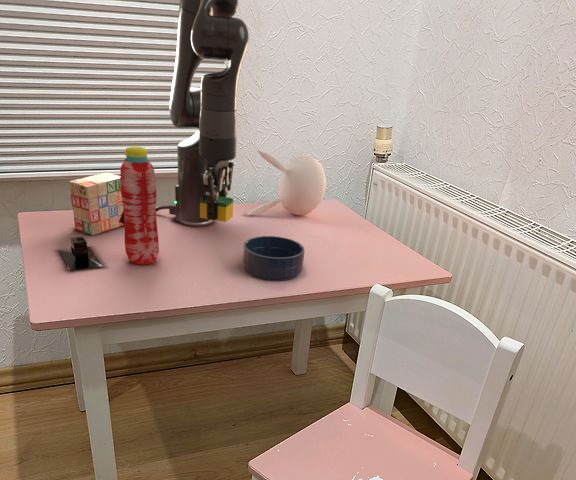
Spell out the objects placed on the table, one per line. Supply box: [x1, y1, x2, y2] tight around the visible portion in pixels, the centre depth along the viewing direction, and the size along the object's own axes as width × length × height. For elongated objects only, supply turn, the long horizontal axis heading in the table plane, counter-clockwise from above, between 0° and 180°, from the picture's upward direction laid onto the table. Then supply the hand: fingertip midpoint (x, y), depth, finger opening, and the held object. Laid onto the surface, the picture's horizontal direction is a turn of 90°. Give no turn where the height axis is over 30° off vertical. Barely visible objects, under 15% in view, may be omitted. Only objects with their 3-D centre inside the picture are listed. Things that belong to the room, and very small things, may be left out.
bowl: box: [242, 235, 306, 282], centre depth 135 cm, size 14×14×6 cm
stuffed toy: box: [246, 150, 332, 216], centre depth 168 cm, size 19×14×25 cm
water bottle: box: [119, 146, 160, 266], centre depth 128 cm, size 12×8×25 cm, turn 28°
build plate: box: [58, 236, 104, 272], centre depth 131 cm, size 12×7×5 cm, turn 29°
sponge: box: [200, 196, 234, 223], centre depth 125 cm, size 6×4×4 cm
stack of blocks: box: [69, 172, 125, 236], centre depth 150 cm, size 21×6×12 cm, turn 148°
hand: (216, 215), depth 126 cm, fingers closed on sponge, 4 cm apart
